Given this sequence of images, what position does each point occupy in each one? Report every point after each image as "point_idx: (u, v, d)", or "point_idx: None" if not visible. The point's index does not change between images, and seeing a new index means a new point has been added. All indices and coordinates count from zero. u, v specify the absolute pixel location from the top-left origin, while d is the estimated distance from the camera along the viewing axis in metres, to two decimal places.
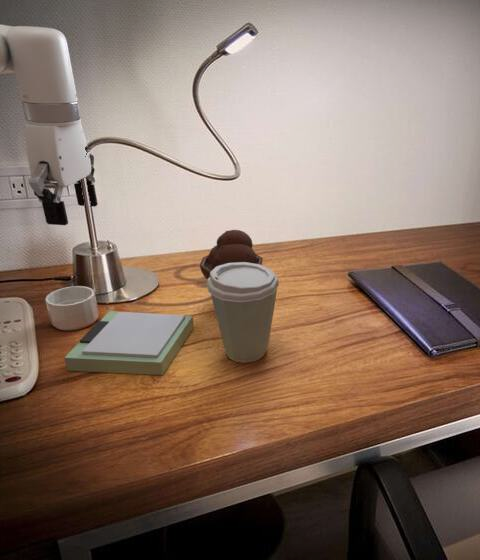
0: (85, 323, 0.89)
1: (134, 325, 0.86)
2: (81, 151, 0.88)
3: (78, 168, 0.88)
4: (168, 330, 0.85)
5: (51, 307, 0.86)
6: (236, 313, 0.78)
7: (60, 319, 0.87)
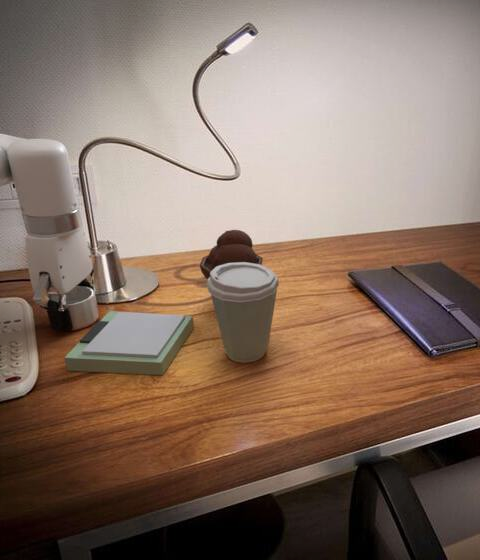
0: (85, 323, 0.89)
1: (134, 325, 0.86)
2: (82, 254, 0.87)
3: (79, 271, 0.87)
4: (168, 330, 0.85)
5: None
6: (236, 313, 0.78)
7: None
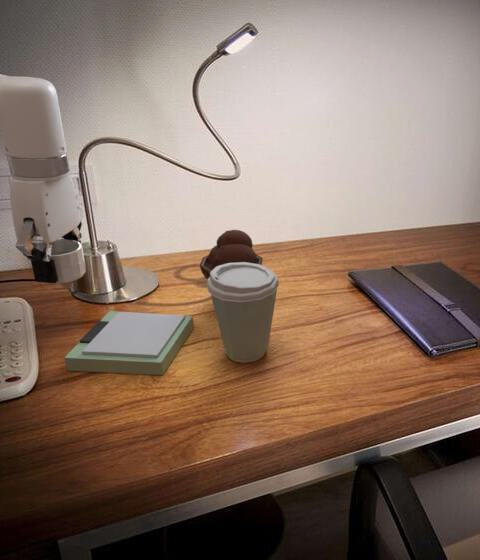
0: (71, 277, 0.85)
1: (134, 325, 0.86)
2: (70, 203, 0.83)
3: (66, 221, 0.83)
4: (168, 330, 0.85)
5: None
6: (236, 313, 0.78)
7: None
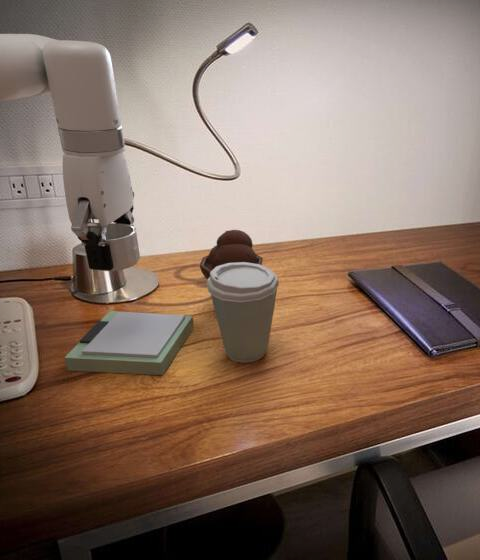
0: (127, 263, 0.78)
1: (134, 325, 0.86)
2: (124, 183, 0.76)
3: (120, 202, 0.76)
4: (168, 330, 0.85)
5: None
6: (236, 313, 0.78)
7: None
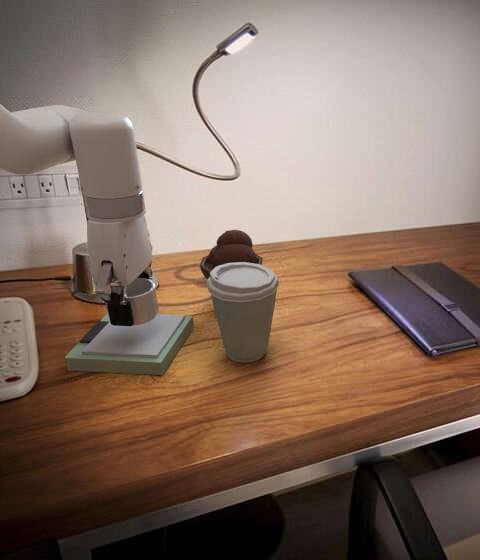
0: (146, 318, 0.81)
1: None
2: (144, 241, 0.79)
3: (141, 260, 0.79)
4: (168, 330, 0.85)
5: None
6: (236, 313, 0.78)
7: None
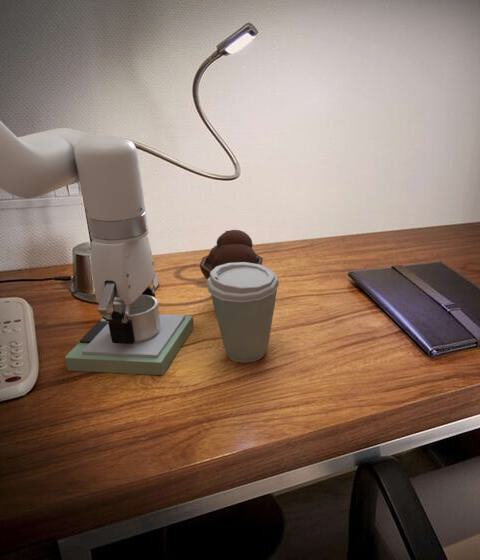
0: (149, 335, 0.82)
1: None
2: (146, 260, 0.81)
3: (143, 279, 0.80)
4: (168, 330, 0.85)
5: None
6: (236, 313, 0.78)
7: None
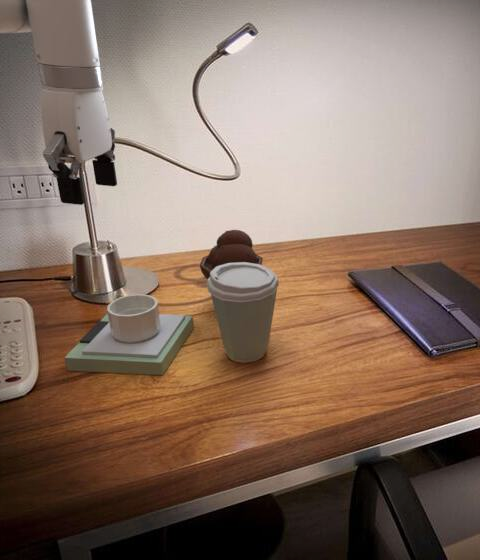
0: (149, 335, 0.82)
1: None
2: (102, 123, 0.79)
3: (98, 141, 0.79)
4: (168, 330, 0.85)
5: (114, 318, 0.79)
6: (236, 313, 0.78)
7: (123, 331, 0.80)
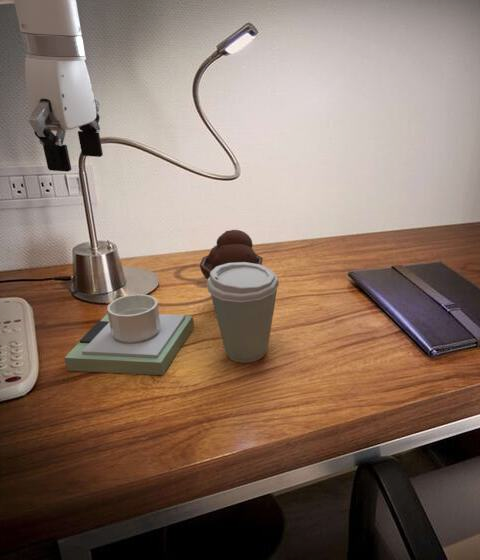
0: (149, 335, 0.82)
1: None
2: (85, 93, 0.82)
3: (82, 110, 0.81)
4: (168, 330, 0.85)
5: (114, 318, 0.79)
6: (236, 313, 0.78)
7: (123, 331, 0.80)
